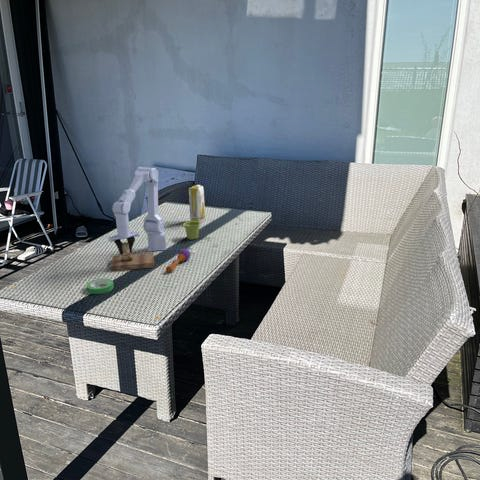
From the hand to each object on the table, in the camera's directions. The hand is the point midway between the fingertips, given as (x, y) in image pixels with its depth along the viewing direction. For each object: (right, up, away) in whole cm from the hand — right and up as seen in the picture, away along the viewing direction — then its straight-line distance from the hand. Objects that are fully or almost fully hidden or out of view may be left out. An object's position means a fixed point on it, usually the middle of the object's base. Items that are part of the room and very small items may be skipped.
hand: (125, 252), depth 222 cm
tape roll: (-5, -15, -24) cm, 29 cm away
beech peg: (0, -3, +1) cm, 3 cm away
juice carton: (+29, +17, +68) cm, 76 cm away
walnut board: (+3, -5, +2) cm, 7 cm away
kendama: (+26, -6, 0) cm, 26 cm away
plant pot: (+28, +7, +39) cm, 49 cm away
